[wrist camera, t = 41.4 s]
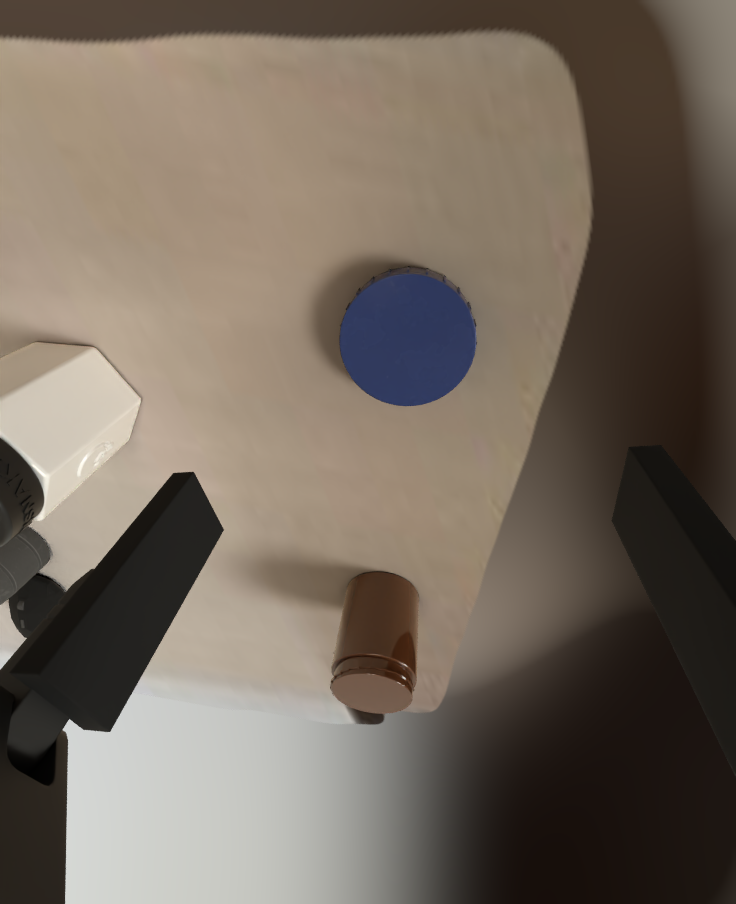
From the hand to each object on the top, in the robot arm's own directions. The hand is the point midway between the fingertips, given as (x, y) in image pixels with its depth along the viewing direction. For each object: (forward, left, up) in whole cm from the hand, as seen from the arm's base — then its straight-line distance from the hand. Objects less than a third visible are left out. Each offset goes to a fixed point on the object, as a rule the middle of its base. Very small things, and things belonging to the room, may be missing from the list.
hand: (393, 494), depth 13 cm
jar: (+24, -5, -15) cm, 29 cm away
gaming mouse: (+51, +13, -15) cm, 55 cm away
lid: (0, 0, -14) cm, 14 cm away
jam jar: (+12, +24, -15) cm, 31 cm away
